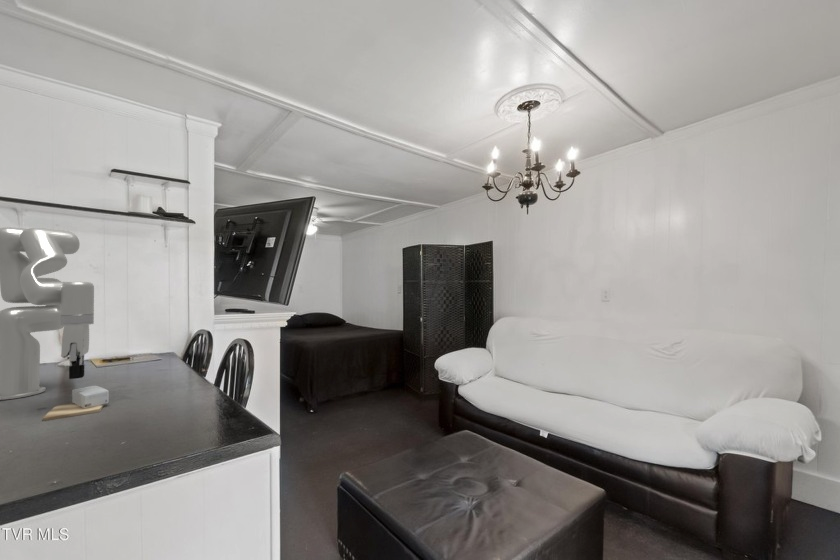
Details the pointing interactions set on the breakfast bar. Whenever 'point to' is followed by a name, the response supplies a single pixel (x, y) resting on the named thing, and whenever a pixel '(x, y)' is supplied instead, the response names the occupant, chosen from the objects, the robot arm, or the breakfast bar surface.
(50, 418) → the brass plate
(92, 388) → the skincare box
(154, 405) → the breakfast bar surface
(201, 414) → the breakfast bar surface
